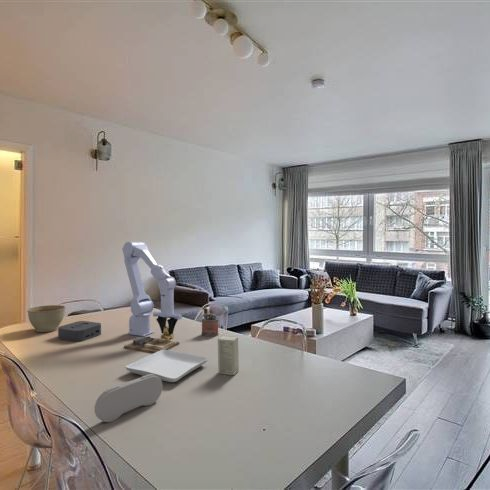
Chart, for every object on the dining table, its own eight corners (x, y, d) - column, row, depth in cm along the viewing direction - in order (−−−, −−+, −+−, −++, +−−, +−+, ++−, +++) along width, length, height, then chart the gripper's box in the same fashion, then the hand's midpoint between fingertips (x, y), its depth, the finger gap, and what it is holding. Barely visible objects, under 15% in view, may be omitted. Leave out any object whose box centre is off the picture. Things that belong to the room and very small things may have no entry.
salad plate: (209, 365, 130) (209, 356, 130) (175, 388, 111) (175, 378, 111) (163, 356, 139) (163, 348, 139) (123, 376, 120) (123, 366, 120)
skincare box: (238, 371, 125) (239, 336, 124) (234, 375, 120) (234, 340, 120) (222, 368, 127) (222, 334, 126) (217, 373, 122) (217, 338, 122)
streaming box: (80, 330, 174) (80, 320, 174) (103, 334, 169) (103, 323, 169) (55, 339, 161) (55, 327, 161) (79, 343, 155) (79, 331, 155)
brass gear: (158, 338, 161) (158, 327, 161) (165, 335, 166) (165, 325, 166) (168, 340, 159) (168, 329, 159) (175, 337, 164) (175, 326, 164)
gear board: (124, 347, 148) (124, 342, 148) (146, 338, 161) (146, 333, 161) (159, 354, 141) (159, 348, 141) (179, 344, 154) (179, 338, 154)
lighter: (218, 333, 170) (219, 313, 169) (217, 336, 166) (217, 314, 166) (202, 333, 171) (202, 312, 170) (200, 335, 167) (200, 314, 167)
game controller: (158, 397, 104) (158, 369, 104) (162, 400, 103) (162, 371, 103) (93, 424, 90) (93, 392, 89) (98, 427, 88) (98, 394, 88)
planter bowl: (72, 328, 177) (72, 307, 176) (38, 336, 163) (38, 313, 163) (54, 324, 185) (54, 303, 185) (21, 331, 172) (20, 309, 171)
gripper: (148, 304, 161) (148, 333, 162) (175, 307, 156) (175, 337, 156) (158, 301, 168) (158, 329, 168) (184, 304, 162) (184, 333, 162)
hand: (167, 333), depth 163 cm, fingers closed on brass gear, 4 cm apart
